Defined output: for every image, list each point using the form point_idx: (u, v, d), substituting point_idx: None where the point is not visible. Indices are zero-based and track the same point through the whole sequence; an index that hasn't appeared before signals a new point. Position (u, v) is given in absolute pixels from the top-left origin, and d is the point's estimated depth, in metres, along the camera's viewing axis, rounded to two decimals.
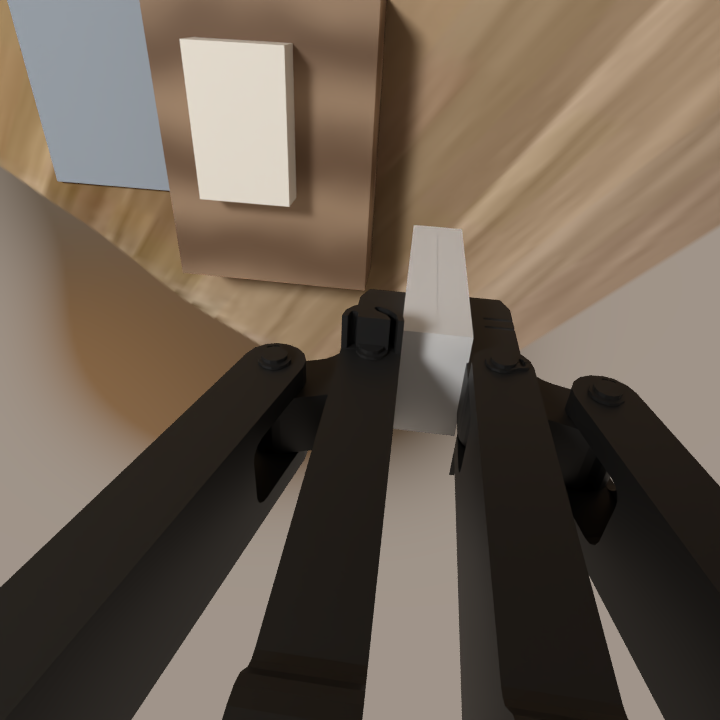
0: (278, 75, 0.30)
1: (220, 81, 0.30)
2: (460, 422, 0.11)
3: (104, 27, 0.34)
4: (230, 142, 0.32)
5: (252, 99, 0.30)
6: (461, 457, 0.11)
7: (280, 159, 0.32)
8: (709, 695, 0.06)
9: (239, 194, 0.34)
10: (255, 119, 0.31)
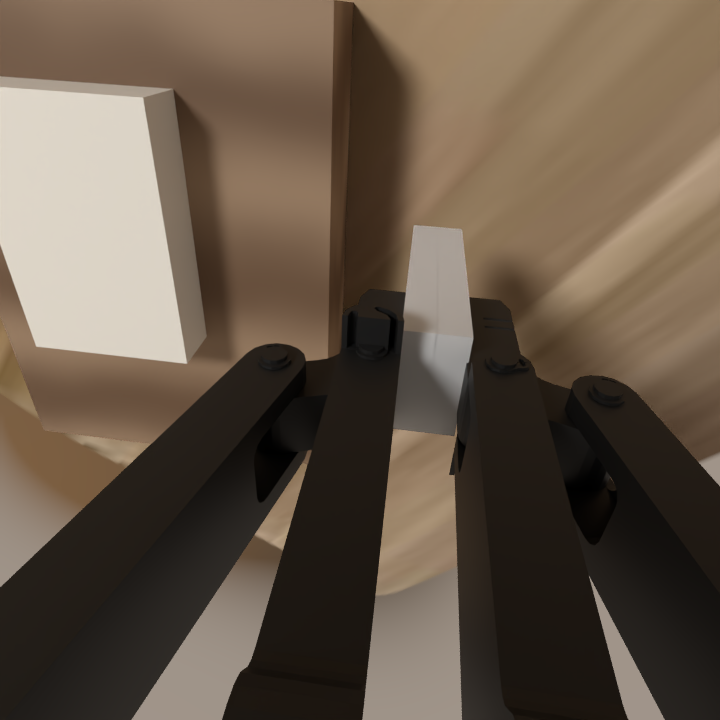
0: (139, 152, 0.15)
1: (34, 161, 0.16)
2: (460, 422, 0.11)
3: None
4: (71, 263, 0.18)
5: (98, 193, 0.16)
6: (461, 457, 0.11)
7: (162, 292, 0.18)
8: (709, 695, 0.06)
9: (100, 342, 0.20)
10: (108, 227, 0.17)
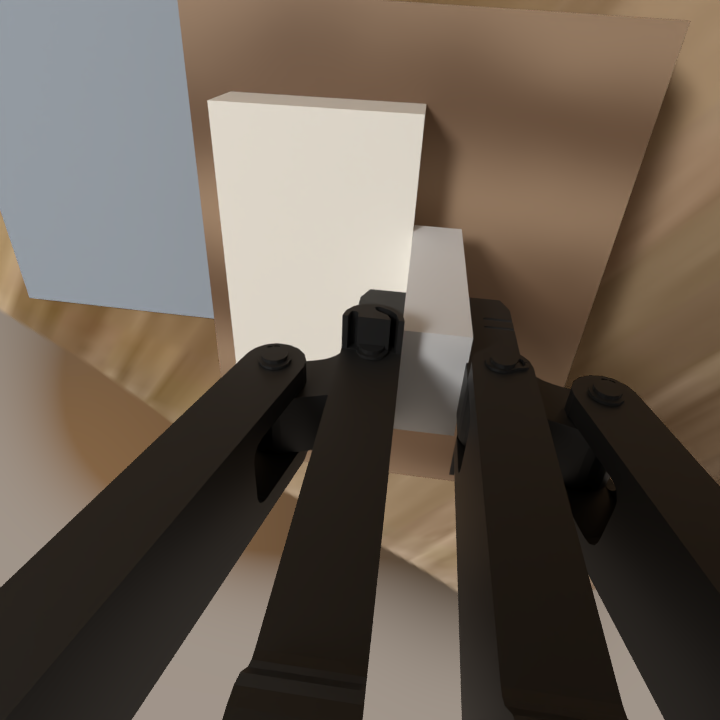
0: (405, 171, 0.15)
1: (286, 180, 0.15)
2: (460, 422, 0.11)
3: (108, 65, 0.19)
4: (298, 284, 0.17)
5: (347, 212, 0.16)
6: (461, 457, 0.11)
7: None
8: (709, 695, 0.06)
9: None
10: (349, 247, 0.16)
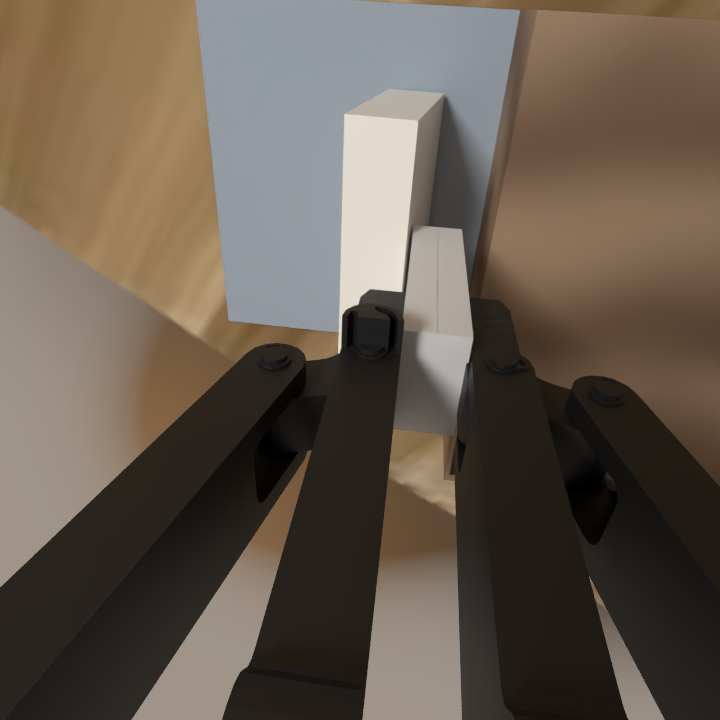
0: None
1: None
2: (460, 422, 0.11)
3: (376, 86, 0.19)
4: None
5: None
6: (461, 457, 0.11)
7: None
8: (709, 695, 0.06)
9: None
10: None
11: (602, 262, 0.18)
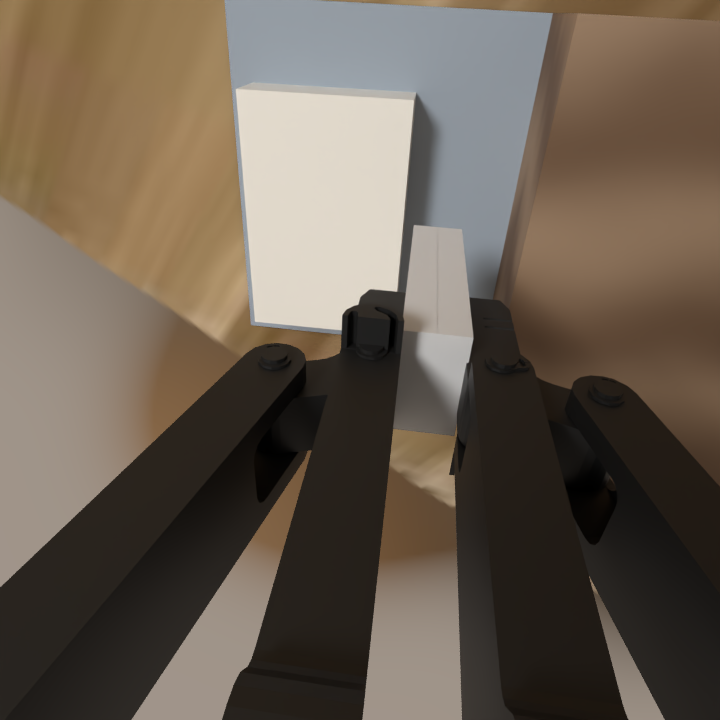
0: None
1: None
2: (460, 422, 0.11)
3: (405, 89, 0.19)
4: None
5: None
6: (461, 457, 0.11)
7: None
8: (709, 695, 0.06)
9: None
10: None
11: (635, 266, 0.17)
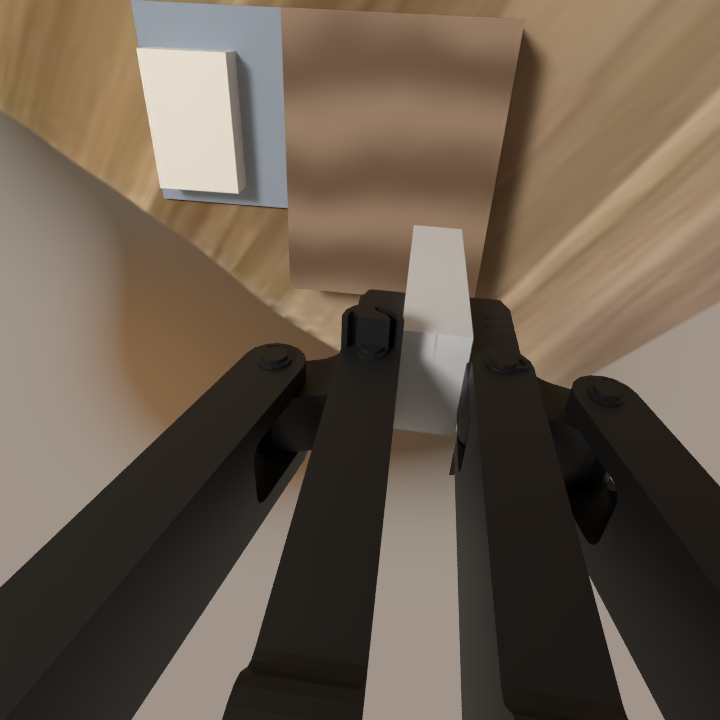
0: None
1: None
2: (460, 422, 0.11)
3: (229, 49, 0.35)
4: None
5: None
6: (461, 457, 0.11)
7: None
8: (709, 695, 0.06)
9: None
10: None
11: (341, 137, 0.34)
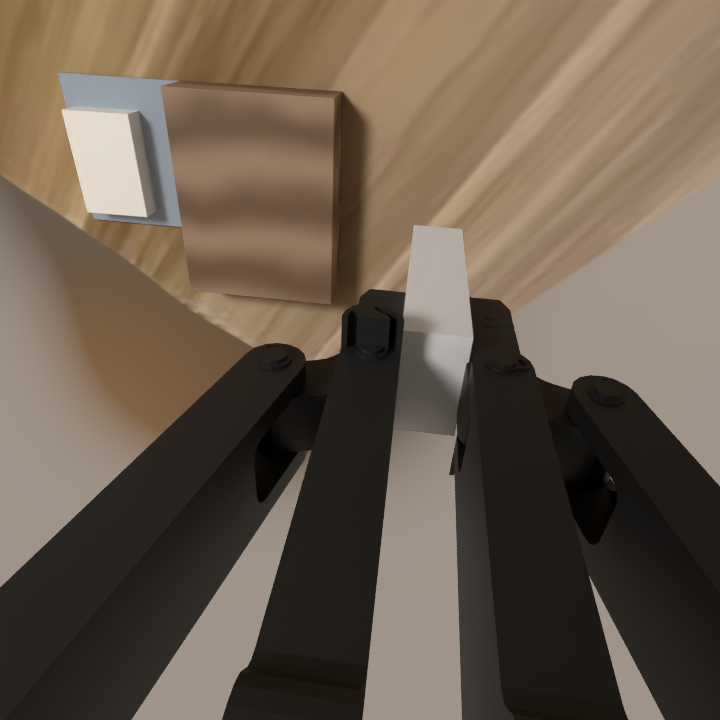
0: None
1: None
2: (460, 422, 0.11)
3: (134, 109, 0.46)
4: None
5: None
6: (461, 457, 0.11)
7: None
8: (709, 695, 0.06)
9: None
10: None
11: (215, 178, 0.45)
